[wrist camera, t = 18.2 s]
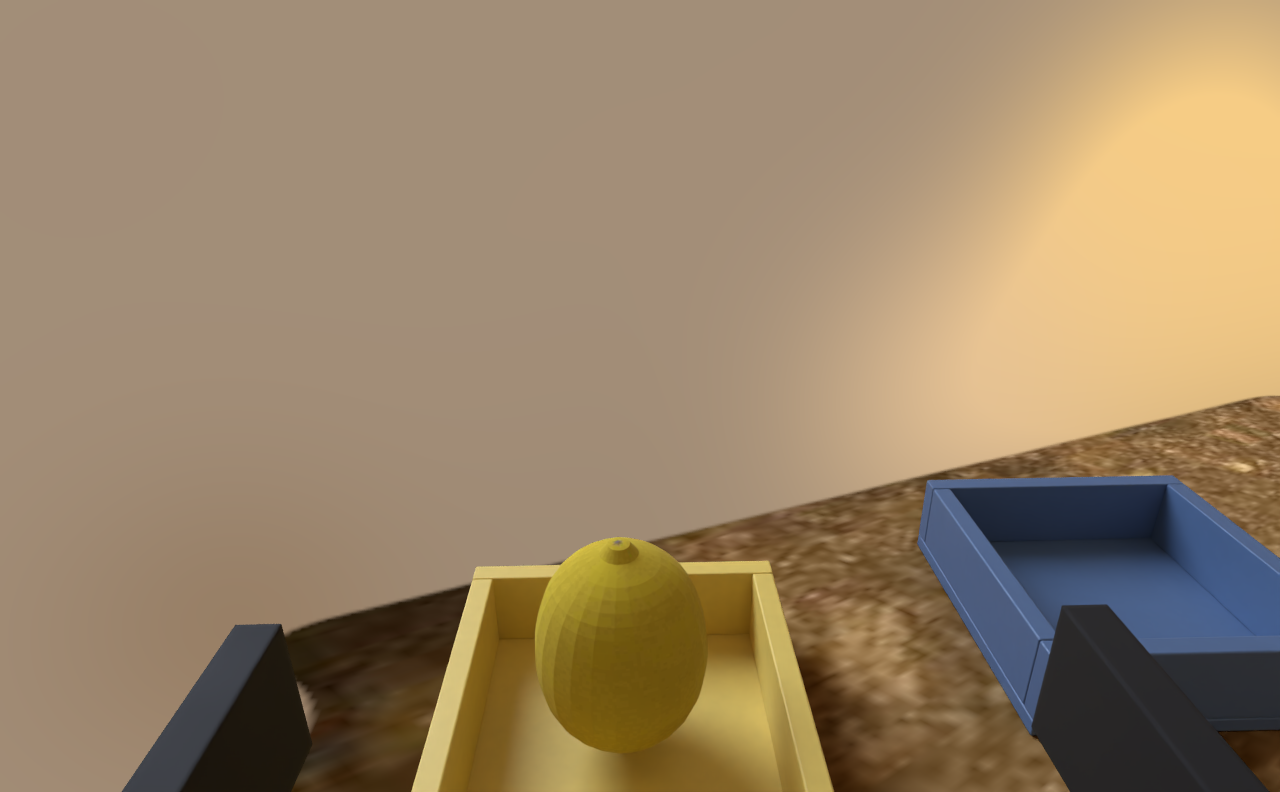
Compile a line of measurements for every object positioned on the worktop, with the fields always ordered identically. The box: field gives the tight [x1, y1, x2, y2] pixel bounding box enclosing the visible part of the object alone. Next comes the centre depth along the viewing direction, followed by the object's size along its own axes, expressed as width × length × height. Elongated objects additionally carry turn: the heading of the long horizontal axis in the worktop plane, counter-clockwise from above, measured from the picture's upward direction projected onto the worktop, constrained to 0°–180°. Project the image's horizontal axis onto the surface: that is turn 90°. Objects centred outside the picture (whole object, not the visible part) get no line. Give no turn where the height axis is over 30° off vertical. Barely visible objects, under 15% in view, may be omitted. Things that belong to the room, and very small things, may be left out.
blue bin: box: [917, 476, 1280, 735], centre depth 32 cm, size 12×12×4 cm
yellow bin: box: [411, 561, 834, 792], centre depth 26 cm, size 12×12×4 cm
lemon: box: [535, 537, 708, 753], centre depth 25 cm, size 6×6×8 cm
